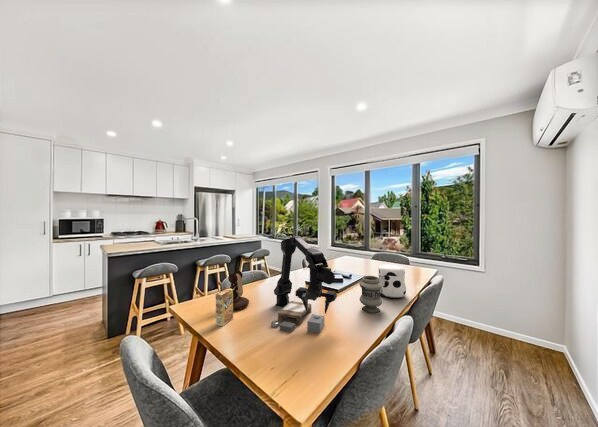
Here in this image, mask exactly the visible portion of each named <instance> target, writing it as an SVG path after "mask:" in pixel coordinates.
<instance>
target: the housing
mask: <svg viewBox="0 0 598 427" xmlns="http://www.w3.org/2000/svg"><path fill="white" fill-rule="evenodd" d="M306 324H307V325H306V326H307V332H310V333H311V332H312V333H317V334H321V333H322V330H323V329H324V327H325V315H321V314H320V313H318V312H317V313H316V312H315V313H312V314H310V317H309V318H308V320H307V323H306Z"/></svg>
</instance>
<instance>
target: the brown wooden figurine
mask: <svg viewBox="0 0 598 427" xmlns="http://www.w3.org/2000/svg"><path fill="white" fill-rule="evenodd" d="M227 278H228V282H230V286H229V289H233V310H237V309H238V310H239V311H241V310H242V308H245V307H246V306H249V304H250V299H249V298H246V297H244V296H243V293H244V292H243V291H244V288H243V282H242V278H243V272H242V271H240V270H238V269H237V270H236V271H234V272H233V273H229V275H228V277H227Z"/></svg>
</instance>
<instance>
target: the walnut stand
mask: <svg viewBox="0 0 598 427" xmlns="http://www.w3.org/2000/svg"><path fill="white" fill-rule="evenodd" d="M289 302H290V303H288V304H287V305H286V306H285V307H282V308H281V309H280V310H279V311H278V312H277V321H279V322H283V321H284V320H285V318H284V317H288V318H294V319H296V325H300V326H301V325H302V323H303V316H305V314H306V313H309V314H310V313H311V312H312V303H308V310H307V311H306V309H305V306H304V304H303V302H302V301H301V302H300V301H294V300H291V301H289Z"/></svg>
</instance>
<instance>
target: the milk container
mask: <svg viewBox="0 0 598 427" xmlns="http://www.w3.org/2000/svg"><path fill="white" fill-rule="evenodd" d="M405 273H406V272H405V267H404V266H400V265H395V264H382V265H379V266H378V278H379V282H381V284H382V288H381V289H380V296H383V297H385V298H392V299H401V298H404V297H405V296H406V295H407V286H406V282H405V281H406V280H405V279H406V277H405V276H406V275H405Z"/></svg>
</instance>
